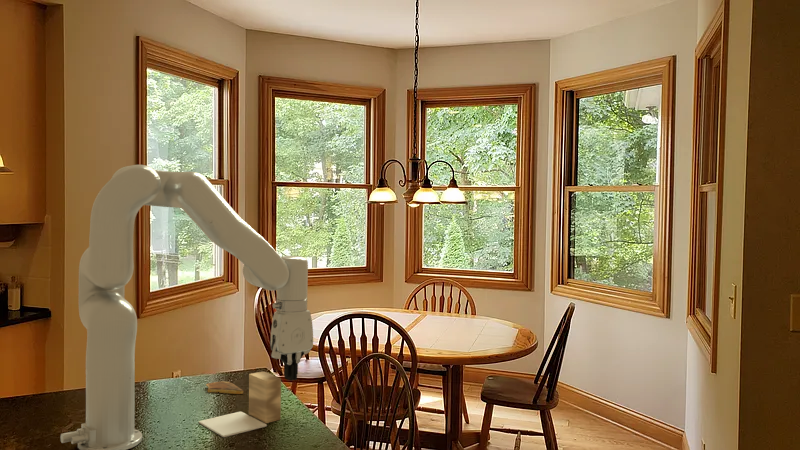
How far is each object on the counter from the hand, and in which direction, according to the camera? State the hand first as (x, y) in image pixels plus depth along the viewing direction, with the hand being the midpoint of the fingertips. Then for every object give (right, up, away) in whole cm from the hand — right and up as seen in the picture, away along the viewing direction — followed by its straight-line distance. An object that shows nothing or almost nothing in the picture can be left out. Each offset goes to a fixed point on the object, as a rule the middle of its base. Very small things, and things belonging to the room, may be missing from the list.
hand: (290, 378), depth 163 cm
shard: (-20, -8, +17) cm, 28 cm away
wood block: (-6, -8, -5) cm, 11 cm away
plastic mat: (-12, -8, -10) cm, 18 cm away
